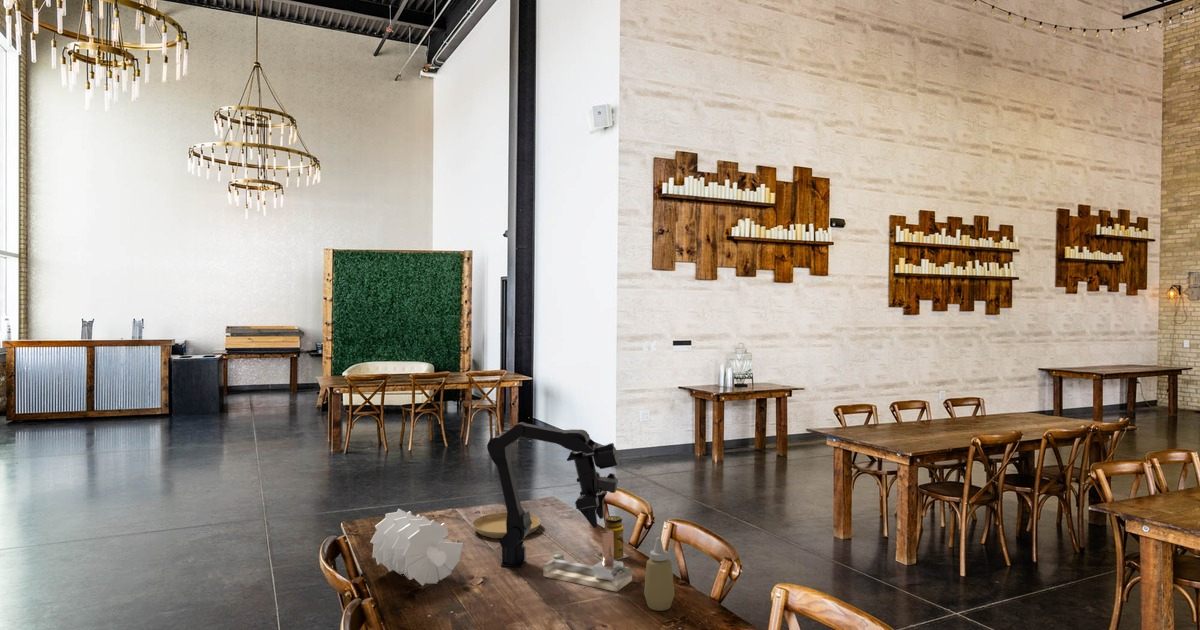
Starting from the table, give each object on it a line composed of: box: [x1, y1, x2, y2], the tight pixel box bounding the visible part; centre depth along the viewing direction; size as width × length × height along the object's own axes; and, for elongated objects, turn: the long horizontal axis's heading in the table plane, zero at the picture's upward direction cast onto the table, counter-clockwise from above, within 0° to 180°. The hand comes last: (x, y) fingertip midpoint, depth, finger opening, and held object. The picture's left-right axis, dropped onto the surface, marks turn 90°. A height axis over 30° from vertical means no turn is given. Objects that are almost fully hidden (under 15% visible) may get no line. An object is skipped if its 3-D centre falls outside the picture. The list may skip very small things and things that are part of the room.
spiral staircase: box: [369, 507, 464, 587], centre depth 212 cm, size 18×18×25 cm
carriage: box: [592, 530, 624, 581], centre depth 205 cm, size 6×7×13 cm
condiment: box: [593, 515, 629, 561], centre depth 227 cm, size 7×8×12 cm
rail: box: [542, 553, 633, 592], centre depth 208 cm, size 26×9×4 cm, turn 60°
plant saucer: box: [471, 511, 542, 539], centre depth 255 cm, size 24×24×3 cm
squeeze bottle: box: [643, 537, 675, 612], centre depth 188 cm, size 8×8×18 cm
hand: (598, 522), depth 216 cm, fingers open, 9 cm apart
